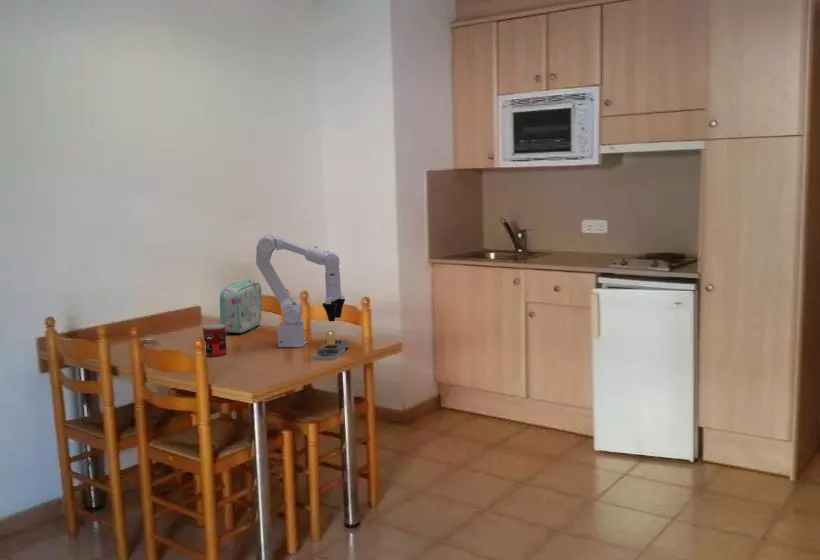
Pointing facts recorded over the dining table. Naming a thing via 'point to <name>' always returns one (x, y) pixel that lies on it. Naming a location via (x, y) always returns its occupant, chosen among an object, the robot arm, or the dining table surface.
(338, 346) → the chain end upper
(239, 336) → the dining table surface
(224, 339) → the canned food
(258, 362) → the dining table surface
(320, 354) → the chain end lower
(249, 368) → the dining table surface
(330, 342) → the brass pin
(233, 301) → the lunch box
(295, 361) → the dining table surface
